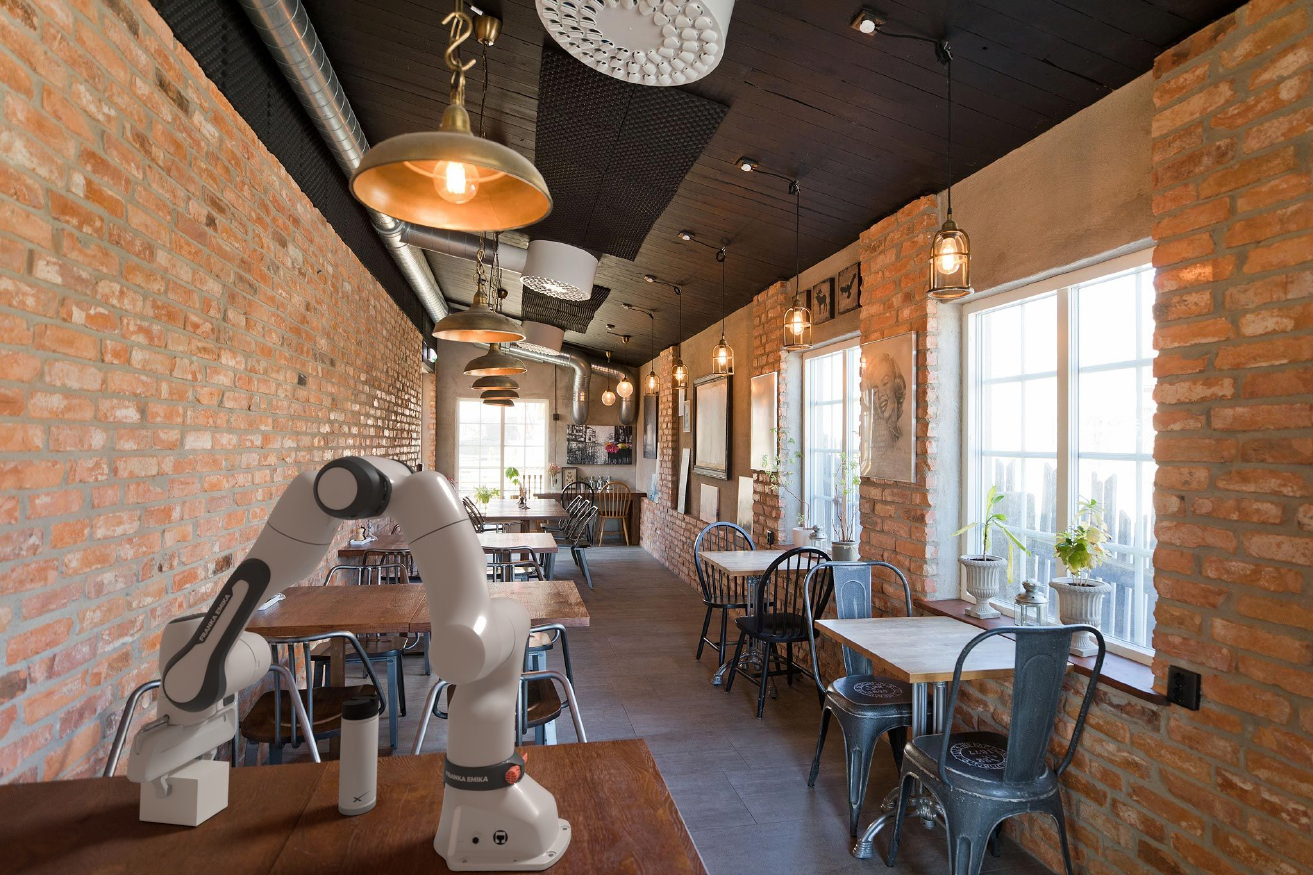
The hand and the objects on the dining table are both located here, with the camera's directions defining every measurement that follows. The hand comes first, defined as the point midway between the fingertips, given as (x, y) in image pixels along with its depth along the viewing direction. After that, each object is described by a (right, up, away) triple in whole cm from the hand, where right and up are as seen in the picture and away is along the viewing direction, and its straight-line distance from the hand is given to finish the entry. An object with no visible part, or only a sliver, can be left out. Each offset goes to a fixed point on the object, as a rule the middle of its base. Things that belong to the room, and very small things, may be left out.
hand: (184, 785), depth 122 cm
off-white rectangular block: (0, -5, 0) cm, 5 cm away
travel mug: (+29, -6, +4) cm, 30 cm away
